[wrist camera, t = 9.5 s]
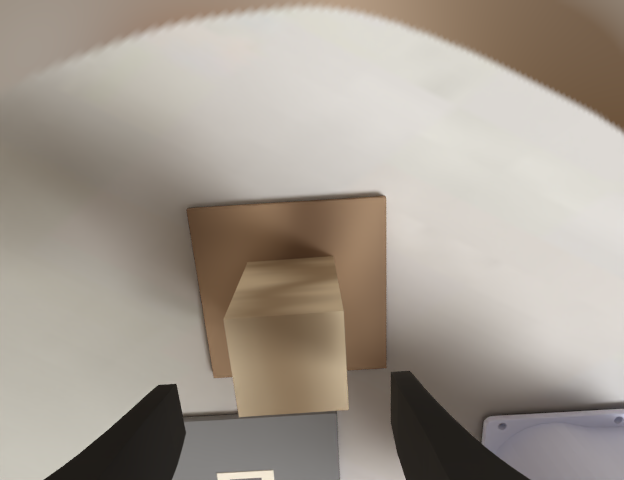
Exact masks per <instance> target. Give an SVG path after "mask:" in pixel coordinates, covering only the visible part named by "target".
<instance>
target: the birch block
mask: <svg viewBox="0 0 624 480" xmlns="http://www.w3.org/2000/svg"><path fill="white" fill-rule="evenodd" d="M223 320H224V327H225V333H226V339H227V345H228V352H229V358H230V364H231V371H232V377H233V383H234V389H235V396H236V402H237V408H238V415H239V417H248V416H263V415H278V414H294V413H309V412H324V411H339V410H349V405H348V385H347V366H346V347H345V328H344V310H343V305H342V300H341V294H340V289H339V284H338V278H337V273H336V268H335V262H334V257H333V256H327V257H313V258H299V259H285V260H271V261H257V262H247V265H246V267H245V269H244V272H243V274H242V277H241V279H240V281H239V284H238V286H237V288H236V291H235V293H234V295H233V298H232V300H231V302H230V305H229V307H228V310H227V312H226V314H225V317H224V319H223Z"/></svg>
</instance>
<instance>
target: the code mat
mask: <svg viewBox="0 0 624 480" xmlns="http://www.w3.org/2000/svg"><path fill="white" fill-rule="evenodd" d="M183 420H184V425H185V430H186V436H185V440H184V444H183V447H182V451H181V455H180V458H179V462H178V465H177V468H176V471H175V473H174V476H173V478H172V480H340V471H339V451H338V431H337V412H336V411H324V412H309V413H294V414H278V415H263V416H248V417H239V415H238V414H232V415H214V416H197V417H183Z"/></svg>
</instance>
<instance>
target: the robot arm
mask: <svg viewBox="0 0 624 480" xmlns="http://www.w3.org/2000/svg"><path fill="white" fill-rule="evenodd" d="M501 423H503V424H501ZM500 424H501V425H500ZM391 425H392V430H393V435H394V440H395V444H396V449H397V453H398V456H399V459H400V463H401V466H402V469H403V472H404V475H405V478H406V480H624V409H609V410H591V411H573V412H556V413H538V414H520V415H502V416H490V417H488V418H486V419H485V420H484V423H483V434H482V444H481V443H480V442H479V441H478V440H476V439H475V438H474V437H473V436H472V435H471V434H470V433H469V432H467V431H466V430H465V429H464V428H463V427H462V426H461V425H460V424H459V423H458V422H457V421H456V420H455V419H454V418H453V417H452V416H451V415H450V414H449V413H448V412H447V411H446V410H445V409H444V408H443V407H442V406H441V405H440V404H439V403H438V402H437V401H436V400H435V399H434V398H433V397H432V396H431V395H430V393H429V392H428V391H427V390H426V389H425V388H424V387H423V386H422V384H421V383H420V382H419V381H418V380H417V379H416V377H415V376H414V375H413V374H412V373H411V372H410V371H401V372H391ZM185 436H186V430H185V425H184V420H183V415H182V410H181V405H180V400H179V395H178V390H177V385H176V384H169V385H158V386H157V387H156V388H154V389H153V390H152V391H151V392H150V393H149V394H147V395H146V396H145V397H144V398H143V399H142V400H141V401H140V402H139V403H138V404H136V405H135V406H134V407H133V408H132V409H131V410H130V411H129V412H128V413H127V414H125V415H124V416H123V417H122V418H121V419H120V420H119V421H118V422H116V423H115V424H114V425H113V426H112V427H111V428H110V429H109V430H107V431H106V432H105V433H104V434H103V435H101V436H100V437H99V438H98V439H97V440H95V441H94V442H93V443H92V444H90V445H89V446H88V447H87V448H86V449H84V450H83V451H82V452H81V453H80V454H78V455H77V456H76V457H74V458H73V459H72V460H70V461H69V462H68V463H66V464H65V465H64V466H62V467H61V468H60V469H58V470H57V471H55V472H54V473H53V474H51V475H50V476H49V477H47V478H46V479H44V480H172V478H173V476H174V473H175V471H176V468H177V465H178V462H179V458H180V455H181V451H182V447H183V444H184V440H185Z"/></svg>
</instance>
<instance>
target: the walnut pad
mask: <svg viewBox="0 0 624 480" xmlns="http://www.w3.org/2000/svg"><path fill="white" fill-rule="evenodd" d="M187 216H188V222H189V228H190V234H191V241H192V247H193V253H194V259H195V265H196V271H197V277H198V283H199V290H200V296H201V302H202V308H203V314H204V320H205V326H206V332H207V339H208V345H209V351H210V357H211V363H212V369H213V375H214V378H223V377H232V371H231V364H230V358H229V352H228V345H227V339H226V333H225V327H224V320H223V319H224V317H225V314H226V312H227V310H228V307H229V305H230V302H231V300H232V298H233V295H234V293H235V291H236V288H237V286H238V284H239V281H240V279H241V277H242V274H243V272H244V269H245V267H246V265H247V262H257V261H271V260H285V259H299V258H313V257H327V256H333V257H334V262H335V268H336V273H337V278H338V284H339V289H340V294H341V300H342V305H343V310H344V328H345V347H346V366H347V370H362V369H379V368H386V197H385V196H375V197H359V198H343V199H326V200H310V201H294V202H277V203H261V204H245V205H229V206H212V207H196V208H188V209H187Z"/></svg>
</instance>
